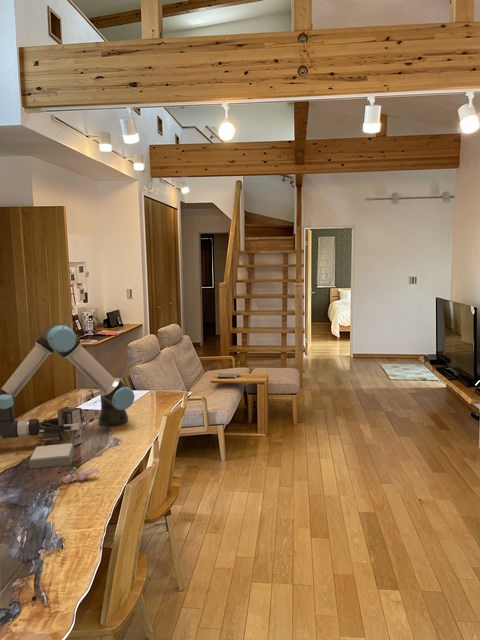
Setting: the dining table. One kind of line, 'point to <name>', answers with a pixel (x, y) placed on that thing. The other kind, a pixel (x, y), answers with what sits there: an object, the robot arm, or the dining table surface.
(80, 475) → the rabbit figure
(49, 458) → the pedestal
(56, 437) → the notebook
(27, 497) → the dining table surface
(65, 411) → the coffee box
